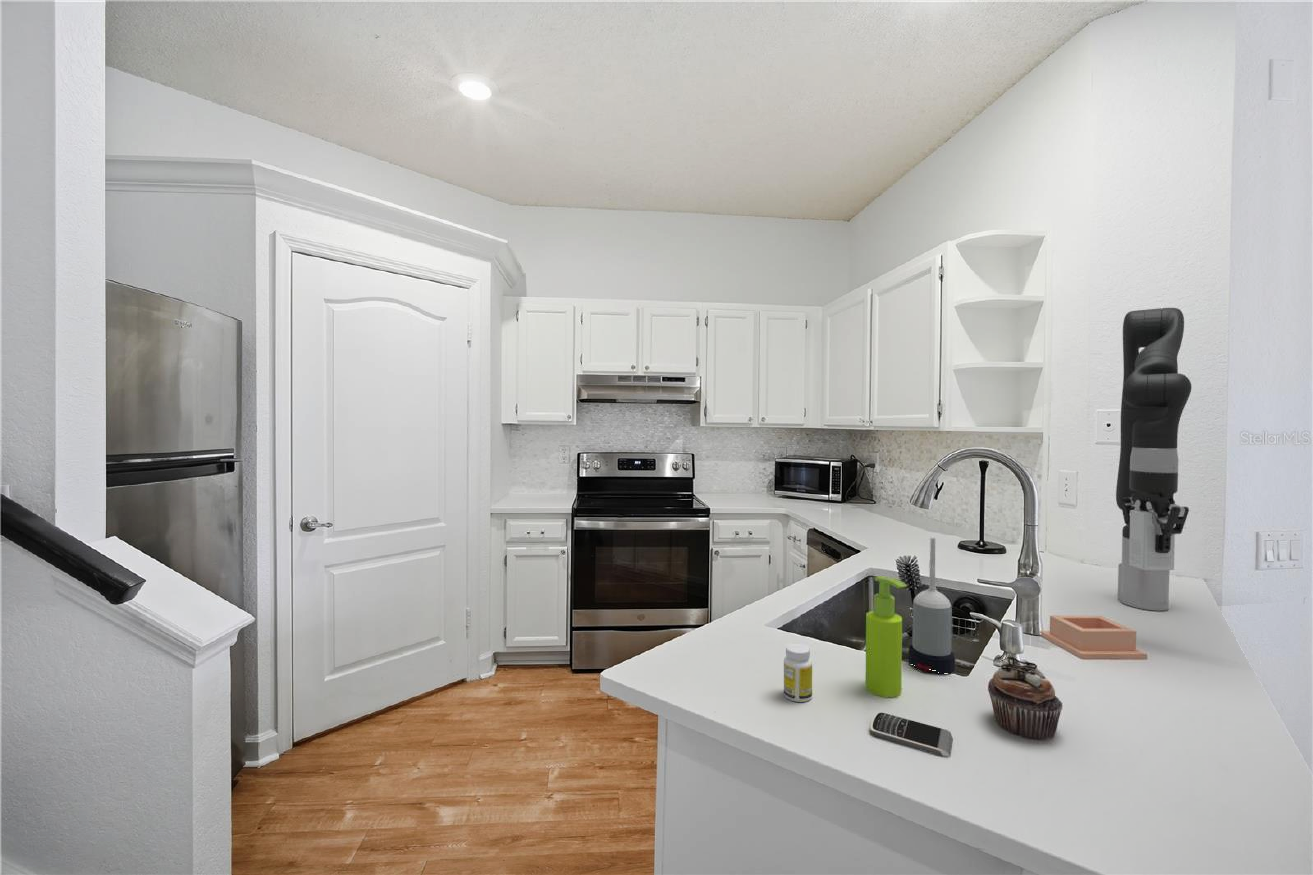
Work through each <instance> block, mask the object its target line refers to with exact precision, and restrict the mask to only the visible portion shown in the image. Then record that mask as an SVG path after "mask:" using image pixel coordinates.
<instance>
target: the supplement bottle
mask: <svg viewBox="0 0 1313 875" xmlns="http://www.w3.org/2000/svg"><path fill="white" fill-rule="evenodd" d="M810 650H811V649H810V647H809V646H807V645H805V644H802V643H790V644H789V643H788V644H786V646H785V657H784V658H783V694H784V696H785V698H786V699H788V700H790V701H791V702H792V701H793V702H796V703H797V702H798V703H806V702H809V701H810V700H811V699H812V698H813V661H812V659H811V658H810V657H811V652H810Z"/></svg>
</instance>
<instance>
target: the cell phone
mask: <svg viewBox="0 0 1313 875" xmlns="http://www.w3.org/2000/svg"><path fill="white" fill-rule="evenodd" d="M869 727H870V734H872V735H871V736H874V737H876V738H879V739H882V740H883V739H884V740H887V741H890V742H893V743H895V744H900V745H903V746H907V747H910V748H912V749H913V748H914V749H917V750H921V751H925V752H927V753H930V754H934V755H938V756H941V757H947V758H948V757H951V756H952V748H953V743H954V738H953V735H952V733H951V731H950V730H948V729H944V728H943V727H942V728H941V727H937V726H934V725H930V724H926V723H923V722H920V721H919V722H918V721H915V720H911V719H909V718H904V717H900V716H897V715H894V714H889V713H885V712H877V713H876V714H874V716H873V717H872V719H871V721H870V726H869Z"/></svg>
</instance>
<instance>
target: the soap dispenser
mask: <svg viewBox="0 0 1313 875" xmlns="http://www.w3.org/2000/svg"><path fill="white" fill-rule="evenodd" d="M874 581H876V582H879V583H878V584H879V585H878V586H879V587H878V588H879V590H878V593H876V594H874V596H873V610H870V611H868V612H866V614H865V615H866V616H865V619H866V620H865V684H864V685H865V689H866V690H867V691H868V692H869V693H871V694H873V695H875V696H879V697H881V698H882V697H883V698H896V697H899V696H900V695H901V694H902V675H903V674H902V671H903V670H902V667H903V666H902V664H903V662H902V661H903V660H902V659H903V657H902V656H903V649H902V648H903V617H902V616H901V615H899V614H897V613H895V607H896V606H895V603H896V602H895V600H896V598H895V596H893V595H892V594H891V593H890V592H891V591H890V589H891V588H890V586H893V587H895V588H897V589H898V590H899V589H904V588H906V587H908V584H906V583H905V582H902V581H901V580H899V579H897V578H894V577H891V576H884V575H879V576H874Z"/></svg>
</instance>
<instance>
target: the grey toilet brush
mask: <svg viewBox="0 0 1313 875" xmlns="http://www.w3.org/2000/svg"><path fill="white" fill-rule="evenodd" d="M929 544H930V545H929V564H928V567H929V585H928V586H929V587H928V588H927V589H925V590H923V591H920V592H919V593H918V594H917V595H915V597H914V598H913V603H912V642H911V643H912V644H910V645H909V647H908V651H907V654H908V656H907V657H908V660H907V661H908V665H910V664H913V665H910V667H912V668H914V669H915V670H916V671H920V672H923V673H926V674H931V675H937V676H947V675H951V674H953V673H955V671H956V656H955V652H953V650H952V626H953V624H952V621H953V620H952V618H953V616H952V615H953V613H952V612H953V611H952V610H953V608H952V604H951V602H950V600H949V599H948V598H947V597H946V595H945V594H943V593H942V592H939V591H938V589H937V586H936V538H935V537H930V539H929ZM914 665H915V666H914ZM929 669H931V670H929ZM932 670H936V671H932ZM938 672H939V673H938ZM944 673H948V674H944Z"/></svg>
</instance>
